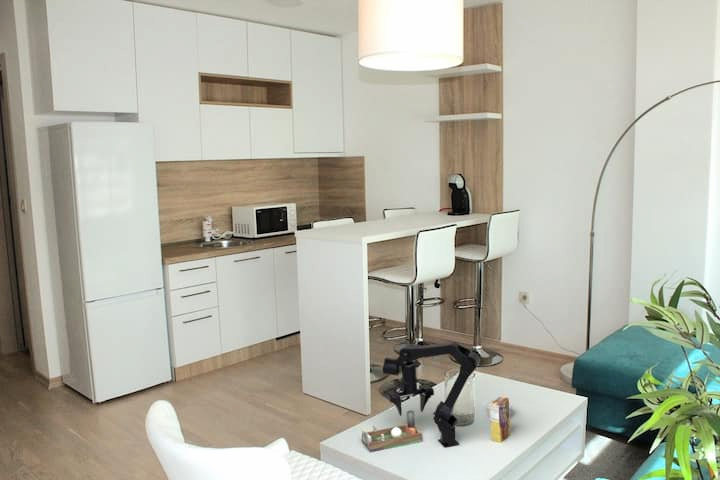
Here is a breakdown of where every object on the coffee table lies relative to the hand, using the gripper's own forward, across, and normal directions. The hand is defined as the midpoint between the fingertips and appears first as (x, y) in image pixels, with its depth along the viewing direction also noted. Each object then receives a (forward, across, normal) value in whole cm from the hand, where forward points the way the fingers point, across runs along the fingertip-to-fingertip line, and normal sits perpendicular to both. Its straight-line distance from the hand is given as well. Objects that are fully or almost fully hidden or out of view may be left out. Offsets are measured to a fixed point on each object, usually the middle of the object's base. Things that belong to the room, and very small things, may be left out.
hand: (411, 413), depth 243 cm
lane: (+10, +9, 0) cm, 13 cm away
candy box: (+11, -32, +14) cm, 37 cm away
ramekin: (+11, -42, -4) cm, 44 cm away
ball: (+7, +7, 0) cm, 10 cm away
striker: (+9, 0, 0) cm, 9 cm away
